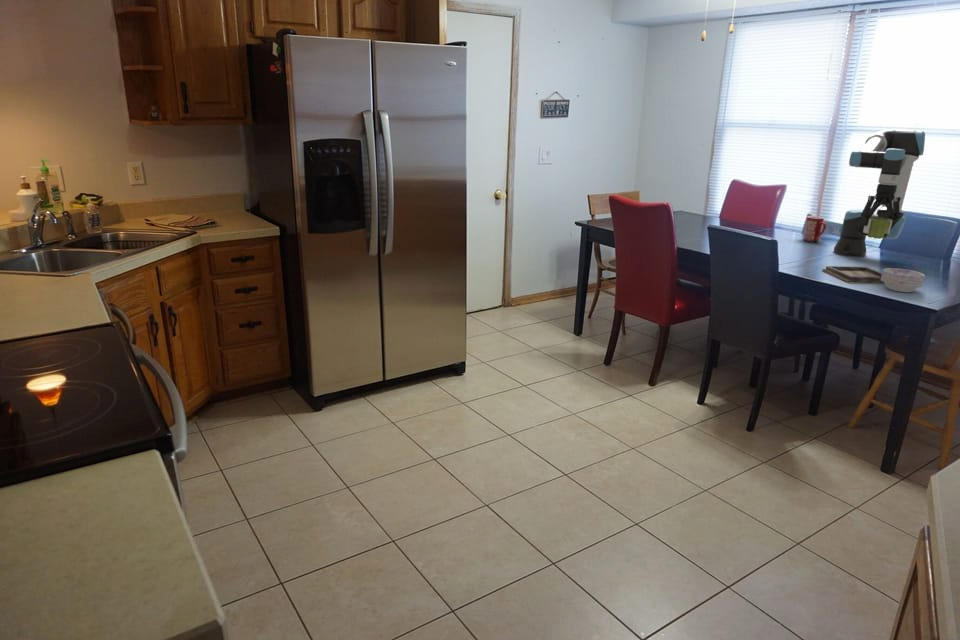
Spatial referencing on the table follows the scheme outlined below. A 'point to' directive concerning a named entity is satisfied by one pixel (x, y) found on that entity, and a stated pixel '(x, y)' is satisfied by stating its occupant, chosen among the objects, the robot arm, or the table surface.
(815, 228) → the mug
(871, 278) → the wooden tray
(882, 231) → the plant pot
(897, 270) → the paper bowls
